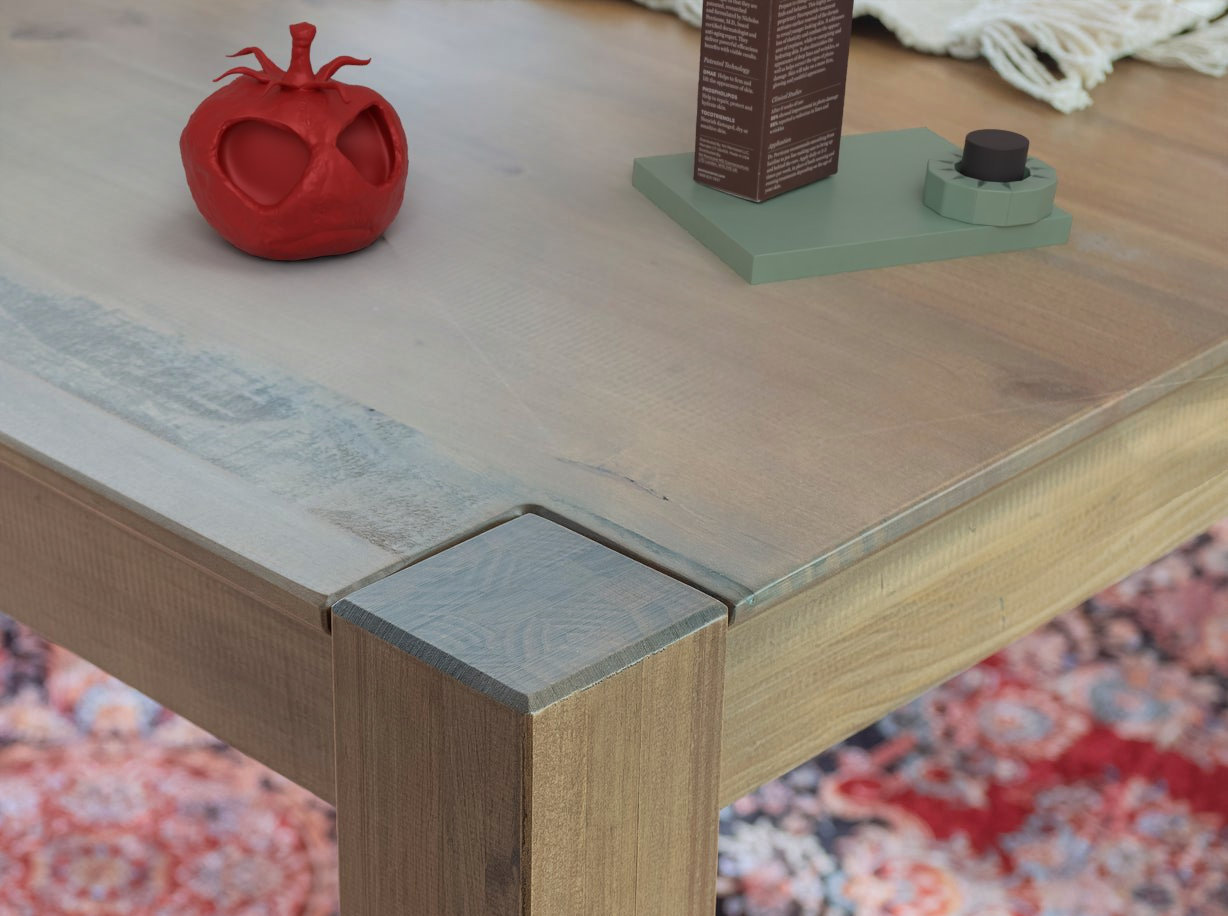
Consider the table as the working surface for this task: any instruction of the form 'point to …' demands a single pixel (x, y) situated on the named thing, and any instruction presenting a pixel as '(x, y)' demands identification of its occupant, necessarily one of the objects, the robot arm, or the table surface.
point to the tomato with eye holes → (295, 157)
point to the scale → (862, 210)
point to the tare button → (994, 155)
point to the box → (770, 94)
